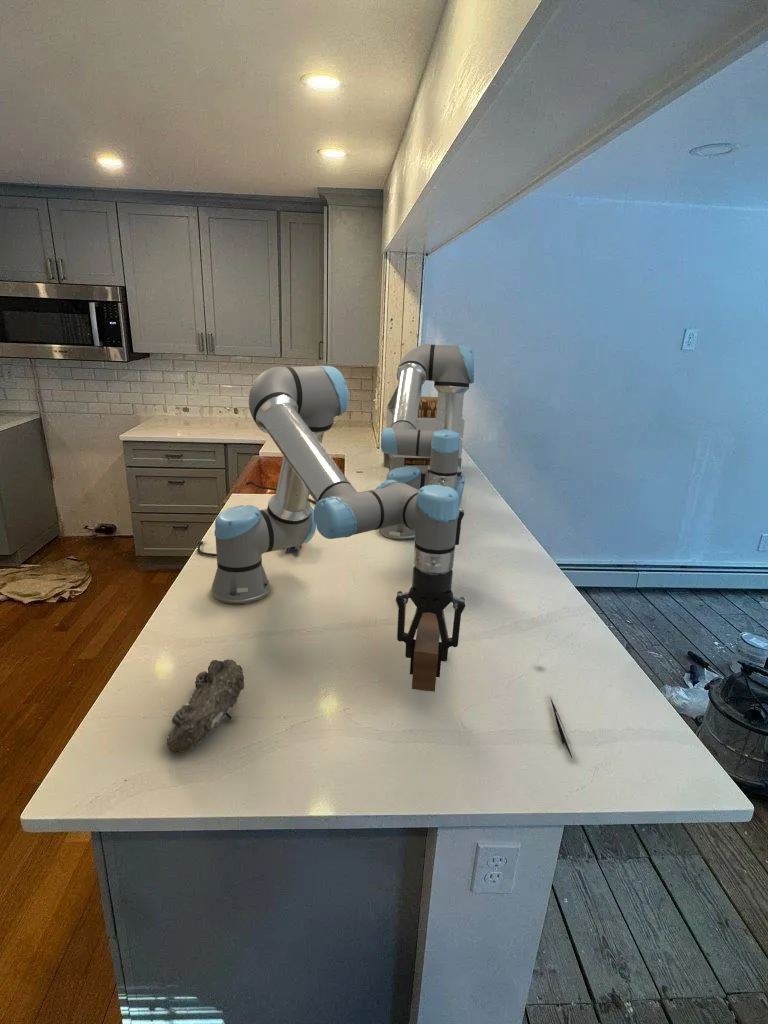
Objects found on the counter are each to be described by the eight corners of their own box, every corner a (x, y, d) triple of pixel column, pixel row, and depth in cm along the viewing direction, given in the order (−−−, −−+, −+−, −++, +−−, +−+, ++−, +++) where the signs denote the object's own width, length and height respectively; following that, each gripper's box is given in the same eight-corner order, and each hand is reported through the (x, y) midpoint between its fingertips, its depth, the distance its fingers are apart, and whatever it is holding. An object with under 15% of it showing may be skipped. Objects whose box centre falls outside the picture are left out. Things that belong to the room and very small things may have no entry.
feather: (540, 672, 128) (545, 666, 127) (572, 762, 101) (579, 755, 101) (533, 668, 128) (539, 662, 127) (564, 758, 101) (571, 750, 100)
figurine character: (301, 560, 179) (306, 537, 192) (301, 539, 175) (306, 517, 189) (280, 559, 178) (286, 536, 192) (279, 538, 175) (286, 516, 188)
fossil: (192, 660, 117) (244, 628, 112) (224, 691, 120) (276, 661, 115) (142, 746, 98) (202, 712, 93) (182, 779, 101) (242, 748, 96)
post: (428, 558, 169) (430, 531, 166) (444, 560, 168) (446, 533, 165) (411, 689, 110) (414, 651, 107) (434, 692, 110) (438, 653, 107)
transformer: (382, 463, 289) (386, 382, 275) (445, 464, 293) (451, 384, 279) (390, 482, 257) (394, 392, 243) (460, 483, 261) (468, 394, 247)
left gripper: (384, 571, 104) (379, 678, 112) (480, 580, 102) (469, 688, 110) (389, 555, 111) (384, 656, 119) (479, 563, 109) (468, 665, 117)
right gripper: (408, 489, 153) (404, 567, 161) (474, 494, 151) (466, 573, 159) (411, 481, 160) (406, 557, 168) (474, 486, 158) (466, 562, 166)
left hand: (425, 671), depth 115 cm, fingers closed on post, 5 cm apart
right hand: (435, 564), depth 163 cm, fingers closed on post, 5 cm apart
